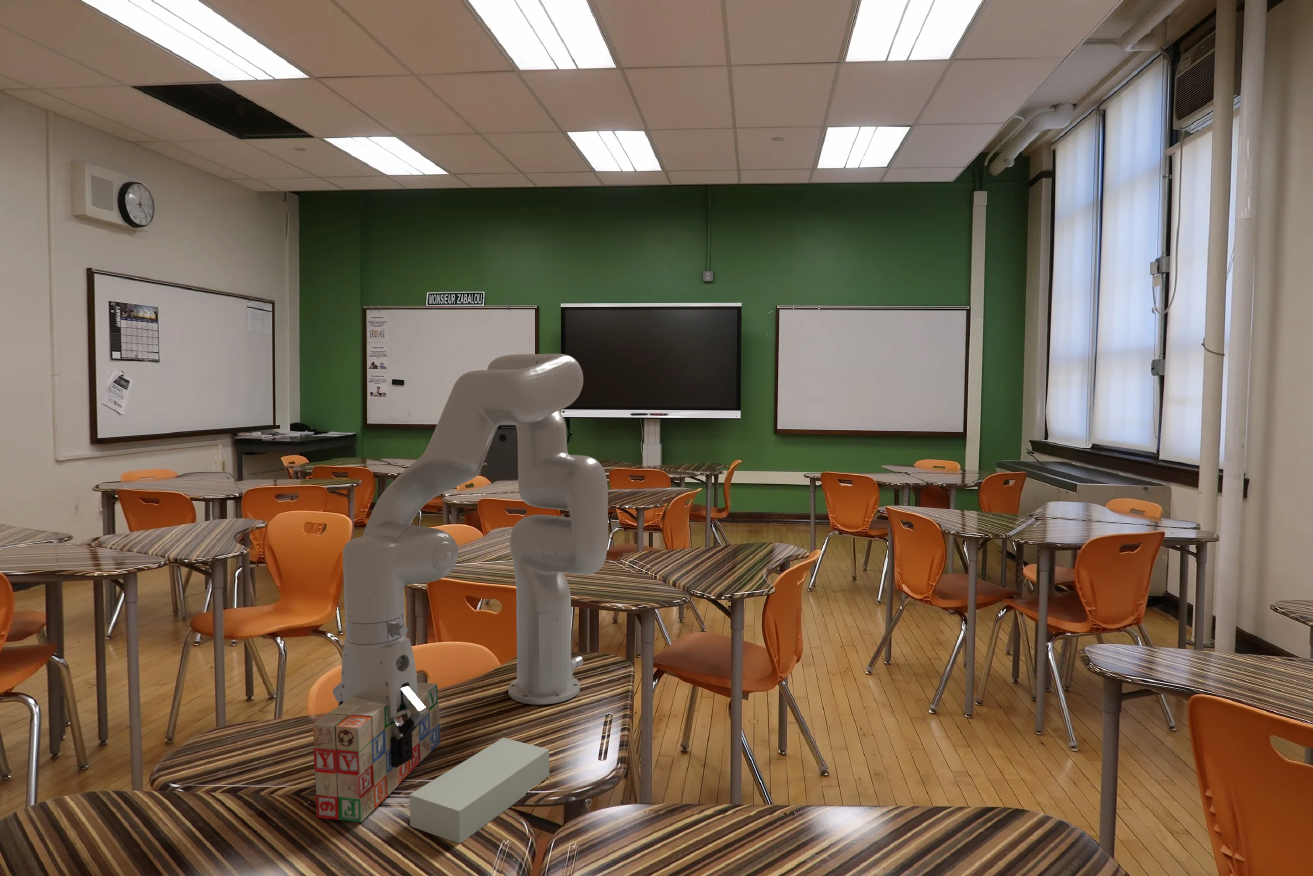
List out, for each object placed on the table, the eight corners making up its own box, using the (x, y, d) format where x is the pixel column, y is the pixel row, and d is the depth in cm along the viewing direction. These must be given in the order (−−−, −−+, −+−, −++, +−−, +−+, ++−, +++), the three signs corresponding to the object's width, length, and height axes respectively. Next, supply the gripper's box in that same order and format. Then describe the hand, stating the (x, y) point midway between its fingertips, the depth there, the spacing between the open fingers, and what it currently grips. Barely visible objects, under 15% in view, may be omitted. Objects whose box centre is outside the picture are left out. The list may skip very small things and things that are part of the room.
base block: (503, 764, 113) (503, 737, 112) (549, 777, 109) (549, 749, 109) (410, 826, 97) (409, 794, 96) (459, 843, 93) (459, 811, 93)
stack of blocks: (402, 740, 119) (399, 660, 118) (441, 743, 117) (438, 663, 116) (315, 818, 98) (311, 722, 97) (361, 823, 96) (357, 726, 95)
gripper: (444, 630, 104) (448, 758, 106) (352, 612, 112) (357, 732, 114) (402, 647, 98) (406, 784, 99) (307, 627, 106) (313, 754, 107)
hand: (380, 755), depth 106 cm, fingers closed on stack of blocks, 7 cm apart
